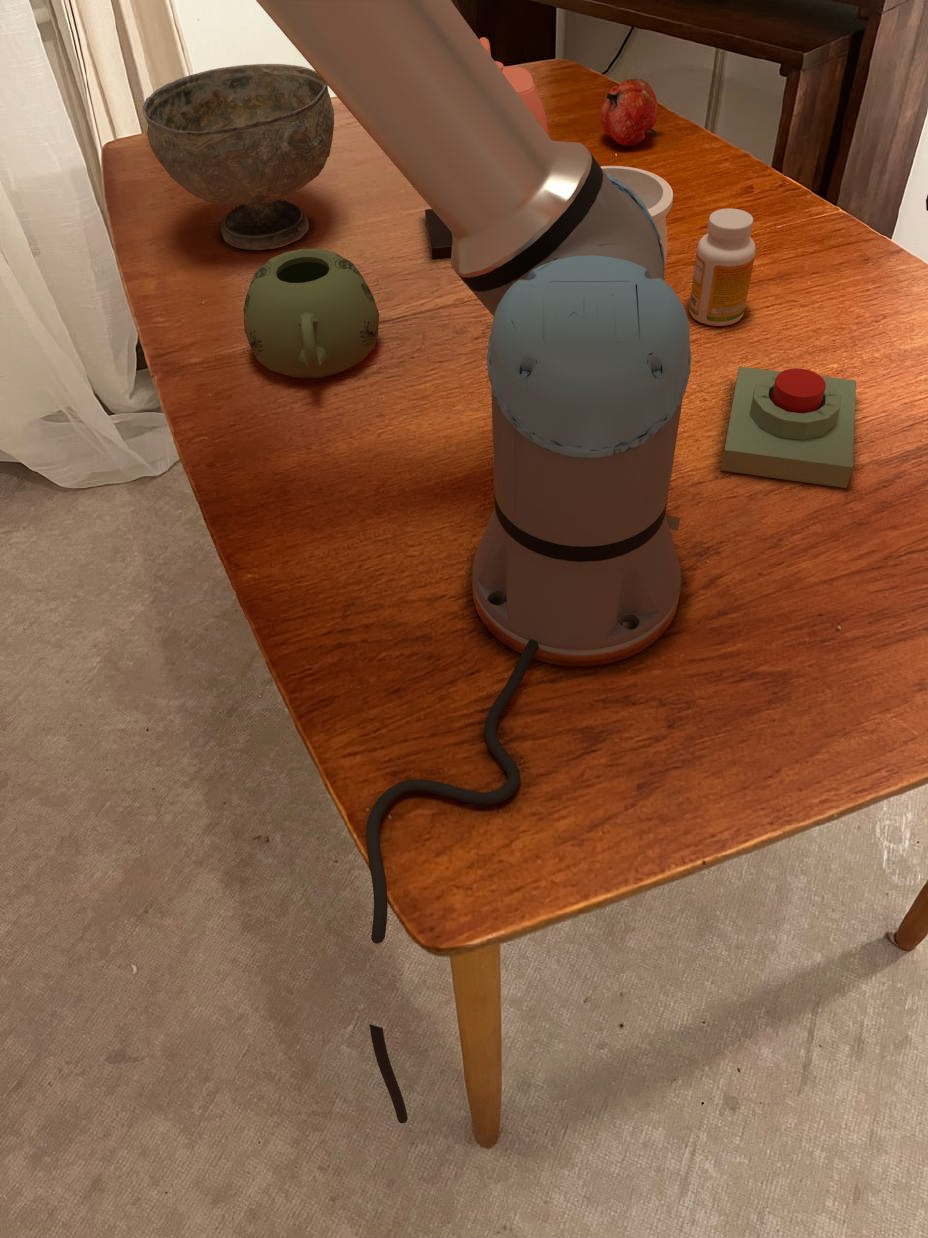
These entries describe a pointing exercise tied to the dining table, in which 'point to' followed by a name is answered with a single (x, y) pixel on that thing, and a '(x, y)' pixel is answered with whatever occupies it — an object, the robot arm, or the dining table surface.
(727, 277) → the supplement bottle
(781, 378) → the button
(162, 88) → the bowl
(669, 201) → the jar
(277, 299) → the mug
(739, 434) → the button box
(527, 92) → the teapot
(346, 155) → the dining table surface
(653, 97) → the pomegranate
